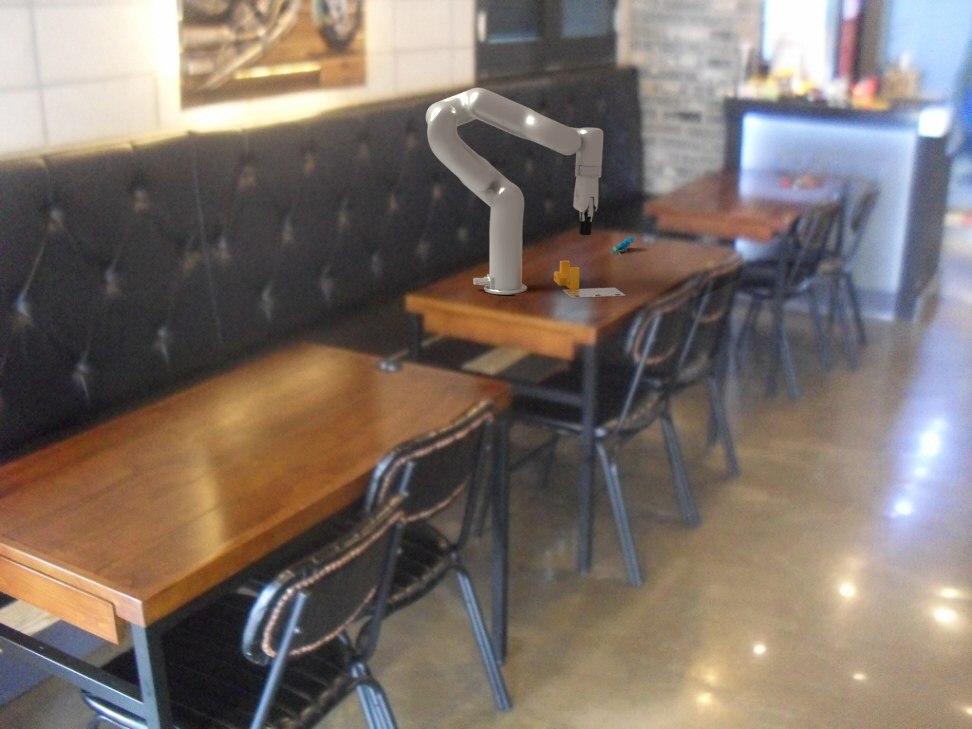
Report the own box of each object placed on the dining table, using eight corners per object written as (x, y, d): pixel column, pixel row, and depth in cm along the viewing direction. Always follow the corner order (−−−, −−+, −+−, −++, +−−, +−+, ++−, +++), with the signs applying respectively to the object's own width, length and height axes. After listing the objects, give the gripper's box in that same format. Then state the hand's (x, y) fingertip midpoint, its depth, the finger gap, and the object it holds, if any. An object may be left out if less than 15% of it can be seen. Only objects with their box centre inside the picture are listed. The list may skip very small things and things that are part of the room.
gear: (618, 251, 362) (636, 232, 356) (628, 265, 361) (647, 246, 355) (601, 256, 354) (620, 237, 347) (612, 270, 352) (631, 250, 346)
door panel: (571, 297, 298) (571, 296, 298) (562, 290, 308) (562, 289, 308) (625, 295, 301) (625, 294, 301) (614, 288, 311) (614, 287, 311)
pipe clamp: (553, 281, 320) (554, 261, 318) (567, 281, 321) (568, 260, 319) (564, 290, 309) (565, 268, 307) (578, 289, 310) (579, 268, 308)
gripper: (568, 168, 310) (566, 230, 315) (582, 174, 296) (579, 239, 301) (593, 168, 311) (590, 230, 316) (608, 174, 297) (604, 238, 302)
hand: (584, 234), depth 308 cm, fingers closed
